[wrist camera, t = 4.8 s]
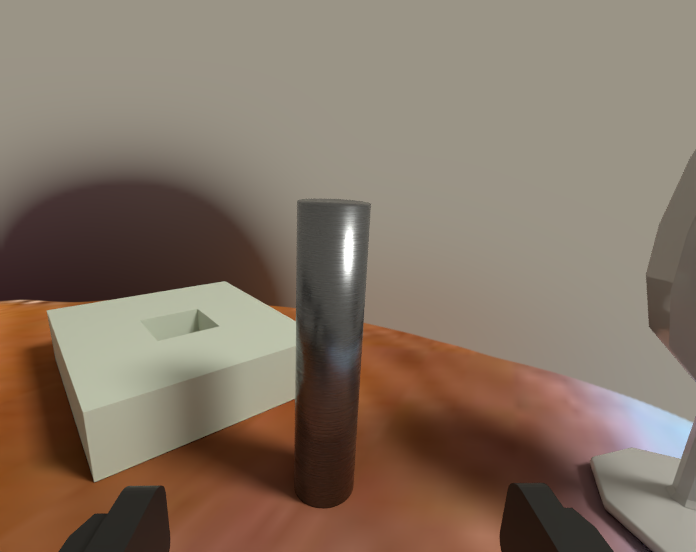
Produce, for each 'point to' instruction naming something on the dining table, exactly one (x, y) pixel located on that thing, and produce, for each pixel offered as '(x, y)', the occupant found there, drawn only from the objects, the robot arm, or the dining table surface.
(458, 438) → the dining table surface
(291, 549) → the dining table surface
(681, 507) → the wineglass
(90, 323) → the hole block
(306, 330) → the peg
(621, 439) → the dining table surface
